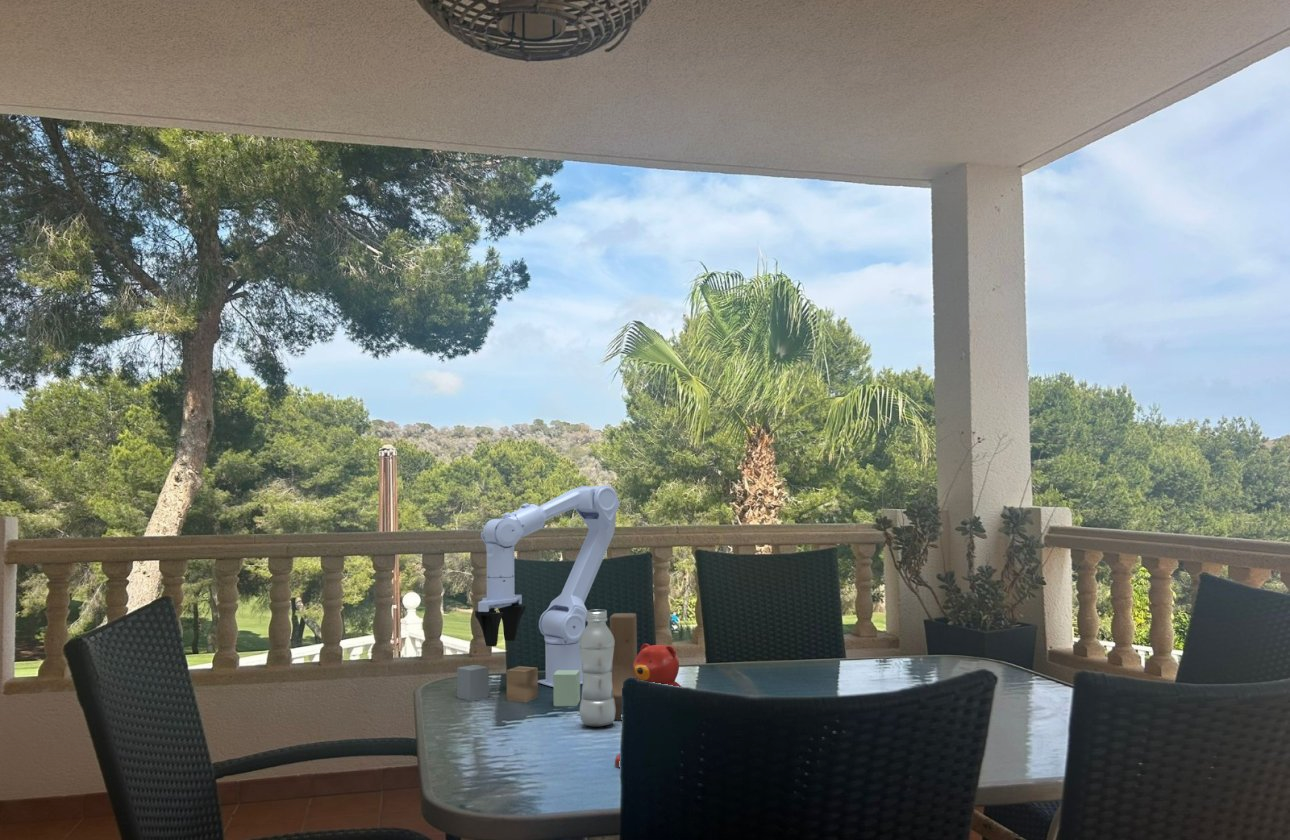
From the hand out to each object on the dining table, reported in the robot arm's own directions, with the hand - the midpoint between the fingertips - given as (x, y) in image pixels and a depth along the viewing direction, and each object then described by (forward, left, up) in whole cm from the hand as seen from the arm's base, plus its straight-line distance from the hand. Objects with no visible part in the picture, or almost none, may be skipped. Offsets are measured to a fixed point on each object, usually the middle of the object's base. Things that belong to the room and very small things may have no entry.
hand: (500, 643), depth 193 cm
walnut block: (-1, +7, -10) cm, 13 cm away
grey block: (+6, -1, -10) cm, 12 cm away
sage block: (-6, +16, -10) cm, 20 cm away
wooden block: (-9, +31, -10) cm, 34 cm away
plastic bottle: (-1, +35, -10) cm, 37 cm away
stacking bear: (+5, +61, -10) cm, 62 cm away
